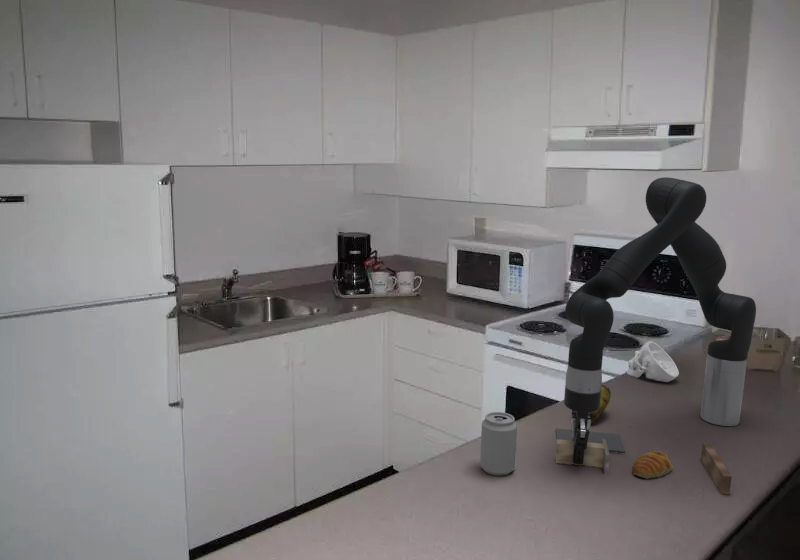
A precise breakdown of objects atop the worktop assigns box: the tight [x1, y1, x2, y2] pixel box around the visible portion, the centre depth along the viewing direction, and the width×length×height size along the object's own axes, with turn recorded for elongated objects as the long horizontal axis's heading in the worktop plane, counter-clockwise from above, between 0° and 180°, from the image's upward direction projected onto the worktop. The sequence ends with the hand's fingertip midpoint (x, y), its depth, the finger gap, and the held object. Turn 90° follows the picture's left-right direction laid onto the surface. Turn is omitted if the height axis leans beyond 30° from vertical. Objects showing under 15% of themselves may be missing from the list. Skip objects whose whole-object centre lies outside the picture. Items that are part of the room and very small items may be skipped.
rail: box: [700, 442, 733, 496], centre depth 143 cm, size 16×2×4 cm, turn 170°
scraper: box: [554, 438, 611, 474], centre depth 148 cm, size 11×8×4 cm
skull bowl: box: [626, 340, 680, 383], centre depth 206 cm, size 10×14×12 cm
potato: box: [589, 384, 612, 423], centre depth 174 cm, size 8×13×8 cm, turn 130°
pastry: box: [631, 450, 674, 480], centre depth 145 cm, size 9×7×4 cm
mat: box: [555, 427, 626, 454], centre depth 159 cm, size 10×15×1 cm, turn 80°
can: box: [479, 411, 518, 476], centre depth 143 cm, size 8×8×12 cm
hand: (577, 460), depth 148 cm, fingers closed on scraper, 2 cm apart
